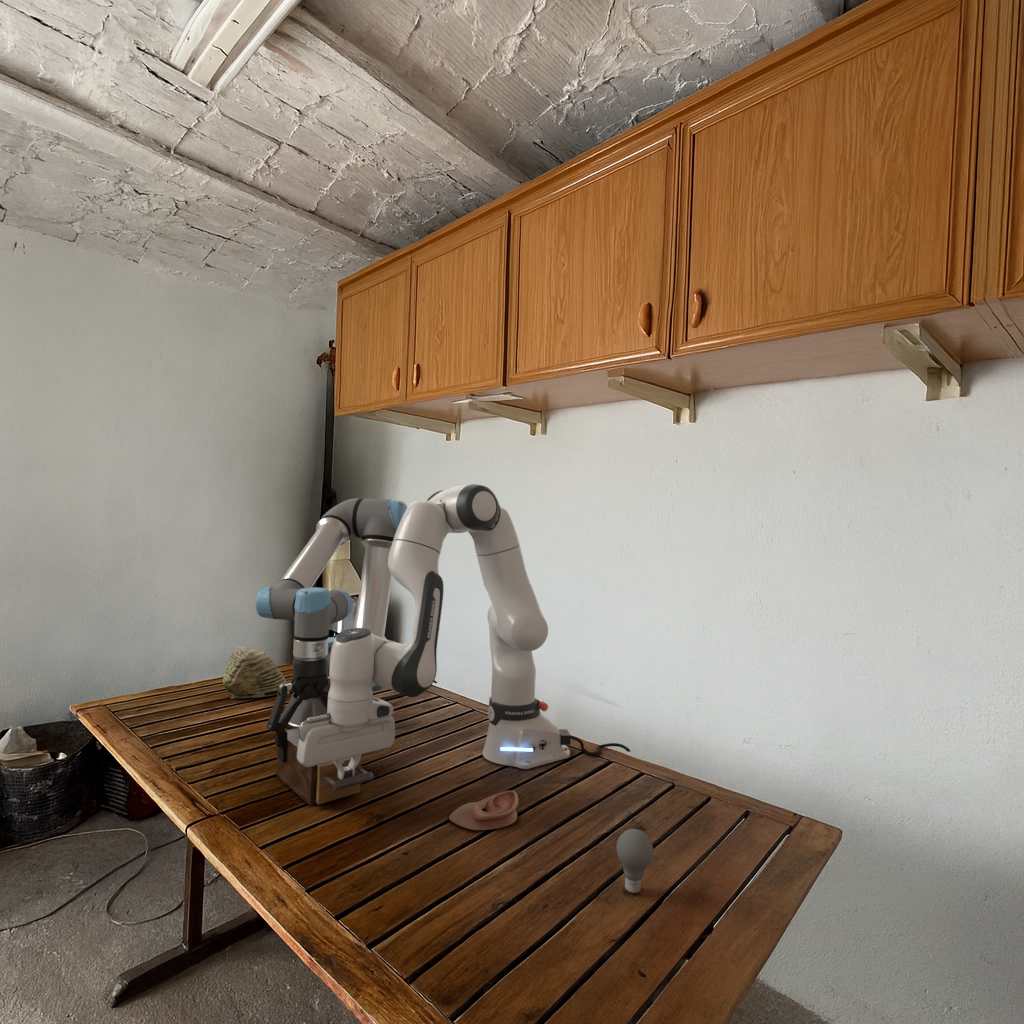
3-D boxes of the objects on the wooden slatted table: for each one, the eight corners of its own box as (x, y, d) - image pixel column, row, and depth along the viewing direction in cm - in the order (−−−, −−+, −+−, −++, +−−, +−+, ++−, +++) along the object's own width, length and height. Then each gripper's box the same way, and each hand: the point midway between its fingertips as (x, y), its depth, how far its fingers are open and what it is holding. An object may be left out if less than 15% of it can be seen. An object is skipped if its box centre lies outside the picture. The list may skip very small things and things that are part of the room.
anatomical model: (444, 806, 124) (461, 780, 135) (443, 826, 124) (460, 799, 135) (511, 815, 121) (522, 789, 132) (510, 836, 121) (521, 808, 132)
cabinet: (357, 791, 137) (358, 746, 137) (310, 806, 130) (312, 758, 130) (320, 763, 150) (322, 722, 150) (276, 775, 143) (277, 732, 143)
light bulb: (610, 879, 108) (613, 822, 108) (644, 879, 109) (647, 822, 109) (619, 902, 102) (622, 840, 102) (655, 901, 103) (658, 840, 103)
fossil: (218, 695, 195) (220, 647, 195) (278, 685, 208) (279, 640, 207) (228, 703, 189) (230, 653, 188) (289, 692, 201) (290, 645, 201)
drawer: (375, 803, 130) (376, 765, 130) (332, 817, 124) (333, 777, 124) (325, 765, 147) (326, 732, 147) (285, 776, 140) (287, 741, 140)
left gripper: (265, 668, 132) (261, 772, 133) (364, 653, 148) (361, 747, 148) (252, 660, 138) (248, 760, 138) (349, 647, 154) (345, 737, 154)
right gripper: (307, 724, 120) (303, 796, 120) (400, 705, 133) (397, 770, 133) (293, 714, 124) (289, 784, 124) (385, 697, 138) (381, 760, 138)
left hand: (306, 753), depth 143 cm, fingers closed on cabinet, 11 cm apart
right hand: (346, 777), depth 129 cm, fingers closed
